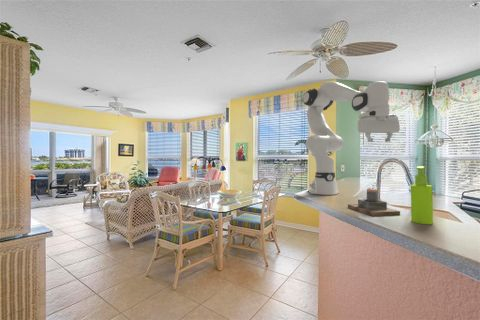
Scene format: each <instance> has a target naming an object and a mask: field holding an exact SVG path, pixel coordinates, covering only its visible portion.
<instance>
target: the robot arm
mask: <svg viewBox="0 0 480 320" xmlns="http://www.w3.org/2000/svg"><path fill="white" fill-rule="evenodd" d="M389 100H390V89H389V84H388V82H386V81H381V80H380V81H378V80H377V81H371V82H370V83H369V84H368V85H367V87H366V88H365V89H364V90H362V91H358V90H356V89H353V88H351V87H349V86H347V85H345V84H343V83H340V82H337V81H332V80H331V81H330V80H326V81H324V82H323V83H321V85H320V87H319V88H318V89H316V88H312V89H309V90H306V92H304V94H303V97H302V102H303V104H304V106H308V107H309V108H308V109H307V111H306V118H307V122H308V125H309V127H310V131H311V133H312V134H313V135H311V136H310V135H309V136H308V137H307V139H306V142H305V147H306V148H307V150H308V151H310V152H311V153H312V156H313V157H314V159H315V169H316V172H315V174H314V175H315V176H314V179H313V180H312V181H311V182H310V183H309V187H310V188H308V189H307V190H308V191H309V193H310V194H313V195H323V196H324V195H325V196H326V195H327V196H329V195H330V196H331V195H332V196H334V195H337V194H340V192H339V190H338V183H337V180H336V179H335V178H336V172H335V160H334V159H333V158H332V157H330V156H329V155H328V152H337V151H341V150H342V149H343V146H344V139H343V138H342V137H341V136H339V135H338V134H336V133H335V131H333V130H332V129H331V128H330V126H329V125H328V123H327V120H326V118H325V115H324V112H323V111H327V110H328V109H329V108H330V107H331V106H333V103H334V102H338V103H339V102H341V103H348V102H349V103H351V108H352V110H354V111H355V112H363V113H360V114H359V115H358V119H359V120H358V122H357V132H359V134H364V135H365V137H366V138H367V143H372V142H374V138H373V137H372V136H371V135H372V134H386V137H385V138H384V142H385V143H390V142H391V139H392V137H393V135H394V134H395V133H399V132H400V130H401V127H400V120H399V117H398V116H397V115H396V113H395V114H394V113H393V114H390V105H389ZM308 191H307V192H308Z"/></svg>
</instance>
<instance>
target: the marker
mask: <svg viewBox="0 0 480 320" xmlns="http://www.w3.org/2000/svg"><path fill="white" fill-rule="evenodd" d="M366 199H367V201H368V202H377V200H378V189H377V188H366Z"/></svg>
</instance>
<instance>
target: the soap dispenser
mask: <svg viewBox="0 0 480 320" xmlns="http://www.w3.org/2000/svg"><path fill="white" fill-rule="evenodd" d="M425 168H426V167H425V165H417V166H416V170H417V174H416V175H414V183H413V184H411V185H410V209H411V210H410V217H411V219H410V220H411V222H412V223H416V224H421V225H433V224H434V220H433V219H434V212H433V211H434V207H433V206H434V201H433V199H434V198H433V194H434V193H433V185H431V184H429V183H428V180H429V179H428V175H426V174H425Z"/></svg>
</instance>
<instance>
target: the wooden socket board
mask: <svg viewBox="0 0 480 320" xmlns="http://www.w3.org/2000/svg"><path fill="white" fill-rule="evenodd" d="M387 203H388V202H387V201H384V200H380V199H377V202H368V201H367V198H361V199H359V198H358V199H357V203H350V204H349V203H348V204H347V208H348V209H351V210H354V211H356V212H360V213H363V214H365V215H368V216H371V217H384V216H401V211H400V210H397V209H395V208H391V207H388V206H387V205H388V204H387Z"/></svg>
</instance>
